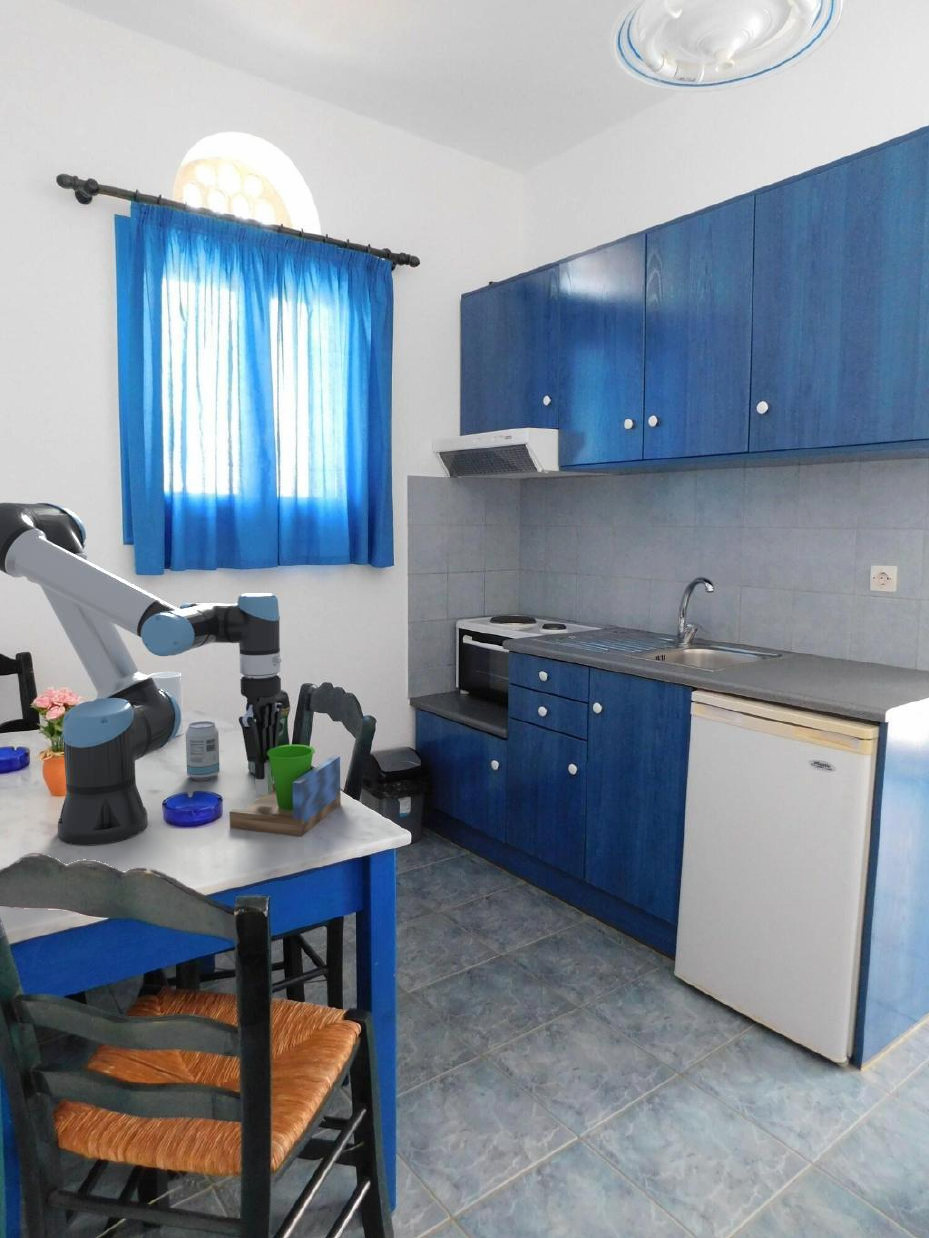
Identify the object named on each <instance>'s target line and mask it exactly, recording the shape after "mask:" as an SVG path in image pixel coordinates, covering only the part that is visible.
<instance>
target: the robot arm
mask: <svg viewBox="0 0 929 1238" xmlns="http://www.w3.org/2000/svg"><path fill="white" fill-rule="evenodd" d="M86 539H87V534H86V529H85V526H84V525H83V522H82V521H81V519H80V518H79V517H78V516H77V514H76V513H74V512H73V511H71V509H69V508H67V507H65V506H62V505H57V504H53V503H48V502H37V503H19V502H15V503H14V502H0V571H1V572H3V573H4V574H6V575H9V576H10V577H13V578H26V580H27V581H29V582H31V583H34V584H37V585H39V586H40V587H41V589H42V592H43V593H44V595H45V597H46V599H47V601H48V603H49V605H50V606H51V609H52V610H53V612H54V614H55V616H56V617H57V619H58V621H59V623H60V625H61V626H62V628H63V631H64V632H65V635H66V636H67V638H68V640H69V642H70V644H71V646H72V648H73V649H74V651H75V654H76V655H77V656H78V660H80V662H81V664H82V666H83V668H84V669H85V672H86V674H87V676H88V678H89V679H90V681H91V684H92V685H93V686H94V688H95V690H96V692H97V696H96V699H94V700H92V701H89V700H87V701H84V702H81V703H80V704H77V705H75V706H73V707H71V708H70V709H69V710H67V711H66V713H65V714H64V716H63V720H62V730H61V731H62V732H61V738H62V741H63V755H64V756H63V758H64V770H65V771H64V772H65V774H64V775H65V789H66V790H65V791H66V792H65V798H64V800H63V804H62V806H61V807H62V808H61V811H60V815H59V819H58V821H57V827H56V828H57V838H58V839H59V841H61V842H63V843H65V844H69V845H73V846H74V845H75V846H96V845H104V844H110V843H115V842H119V841H123V840H126V839H129V838H132V837H135V836H136V835H138V834H140V833H141V832H143V831H145V829H147V827H148V823H149V822H148V811H147V809H146V807H145V806H144V803H143V801H142V798H141V795H140V792H139V789H138V787H137V780H136V760H139V759H141V758H143V757H145V756H146V755H149V754H150V753H153V752H157V751H159V750H160V749H162V748H164V747H165V746H166V744H168V743H169V742H171V741H172V740H173V739H174V738H175V737H176V736H175V735H176V734H177V732H178V729H179V726H180V723H181V712H180V708H179V705H178V703H177V701H176V700H175V698H174V697H173V696H172V695H171V694H170V693H168V692H165V691H163V690H161V689H158V688H157V686H156V685H155V683H154V681H153V679H152V677H151V676H148V675H149V674H148V675H147V674H144V673H141V671H140V670H139V668H138V666H137V665H136V662H135V660H134V659H133V657H132V656H131V654H130V651H129V650H128V647H127V645H126V644H125V642H124V640H123V637H122V636H121V634H120V633H119V630H118V629H117V626H118V627H120V628H122V629H123V630H126V631H128V632H130V633H132V634H133V635H135V636H137V637H140V638H141V640H142V644H143V645H144V646H145V648H146V649H147V651H149V652H150V653H151V654H153V655H155V656H158V657H169V656H177V655H180V654H183V653H185V652H187V651H190V650H194V649H196V648H200V647H204V646H206V645H210V644H216V643H217V644H218V643H219V644H238V646H239V647H238V649H239V673H240V674H242V676H240V679H239V680H240V681H239V682H240V694H241V696H242V697H244V698H246V704H245V711H247V712H245V714H244V715H240V716H238V722H239V725H240V727H241V730H242V731H241V732H242V737H243V743H244V748H245V753H246V760H247V762H254V763H255V775H254V782H255V783H254V784H255V789H254V790H255V795H261V796H264V795H269V794H271V793H272V790H273V783H272V782H273V781H272V780H273V777H272V775H271V765H270V760H269V756H268V755H267V752H268V750H269V749H271V748H274V747H277V746H278V739H279V727H280V716H281V712H282V708H283V704H280V703H276V697H275V696H276V695H278V694H280V692H281V690H282V680H281V679H282V678H281V677H282V676H281V675H280V674H279V673H280V671H281V662H282V658H281V648H280V646H281V645H280V644H281V643H280V640H281V639H280V637H281V635H280V632H281V631H280V630H281V629H280V621H281V616H280V610H279V609H280V608H279V600H278V597H277V596H276V595H275V594H273V593H265V592H260V593H253V592H251V593H242V594H240V595H239V596H238V598H237V602H236V603H208V602H207V603H205V602H200V601H198V602H192V603H191V602H190V603H187V602H186V603H183V604H182V605H180V607H179V608H177V607H176V606H175V605H174V606H173V605H172V604H169V603H168V602H166V601H164V600H162V599H160V598H158V597H157V596H155V595H153V594H151V593H148V592H147V591H146V590H143V589H141V588H140V587H138V586H135V584H131V583H130V582H128V581H126V580H125V579H122V578H121V577H118V576H116V575H115V574H113V573H110V572H109V571H106V570H105V569H103V568H101V567H99V566H97V565H95V564H93V563H91V561H90V562H89V561H88V560H87V558H88V555H87V553H86V551H85V550H84V549H85V547H86V542H85V541H86Z"/></svg>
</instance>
